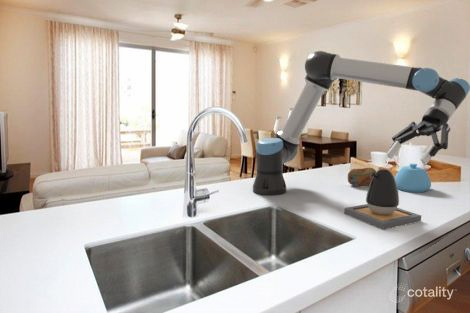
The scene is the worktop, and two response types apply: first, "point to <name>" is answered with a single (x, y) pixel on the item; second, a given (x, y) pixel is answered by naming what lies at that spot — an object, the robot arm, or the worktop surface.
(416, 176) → the sugar bowl
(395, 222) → the dock
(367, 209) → the pad
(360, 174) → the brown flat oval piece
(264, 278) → the worktop surface
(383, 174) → the dark rounded piece
